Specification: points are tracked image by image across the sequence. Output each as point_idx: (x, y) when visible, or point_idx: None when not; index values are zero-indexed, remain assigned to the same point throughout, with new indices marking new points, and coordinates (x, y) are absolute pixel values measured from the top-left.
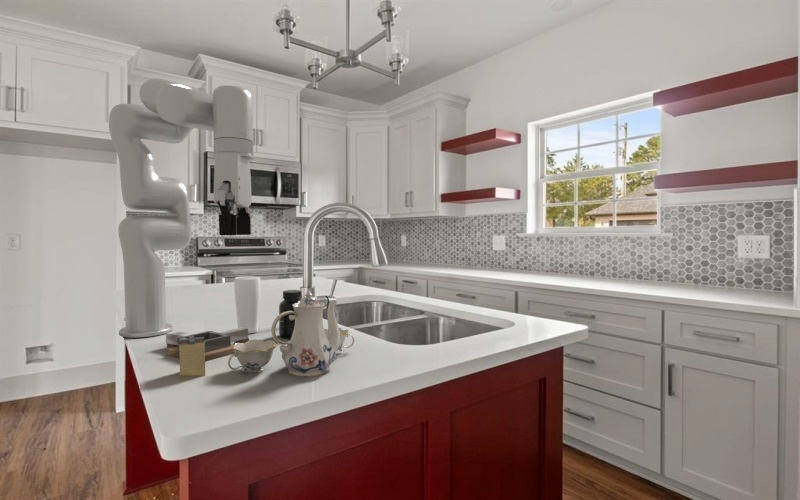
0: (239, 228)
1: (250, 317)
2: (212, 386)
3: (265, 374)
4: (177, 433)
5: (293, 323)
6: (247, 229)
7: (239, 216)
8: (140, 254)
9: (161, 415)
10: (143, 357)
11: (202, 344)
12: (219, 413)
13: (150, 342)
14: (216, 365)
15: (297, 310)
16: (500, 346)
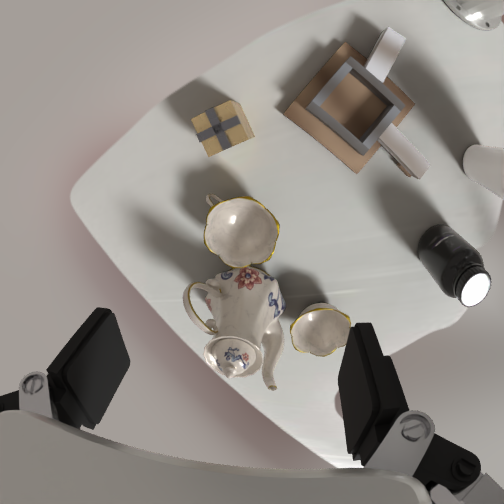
0: (352, 366)
1: (478, 176)
2: (176, 180)
3: None
4: (73, 198)
5: (427, 263)
6: (341, 391)
7: (372, 428)
8: None
9: (98, 162)
10: (322, 15)
11: (207, 153)
12: (108, 219)
13: (413, 4)
14: (271, 150)
15: (212, 339)
16: (312, 441)
